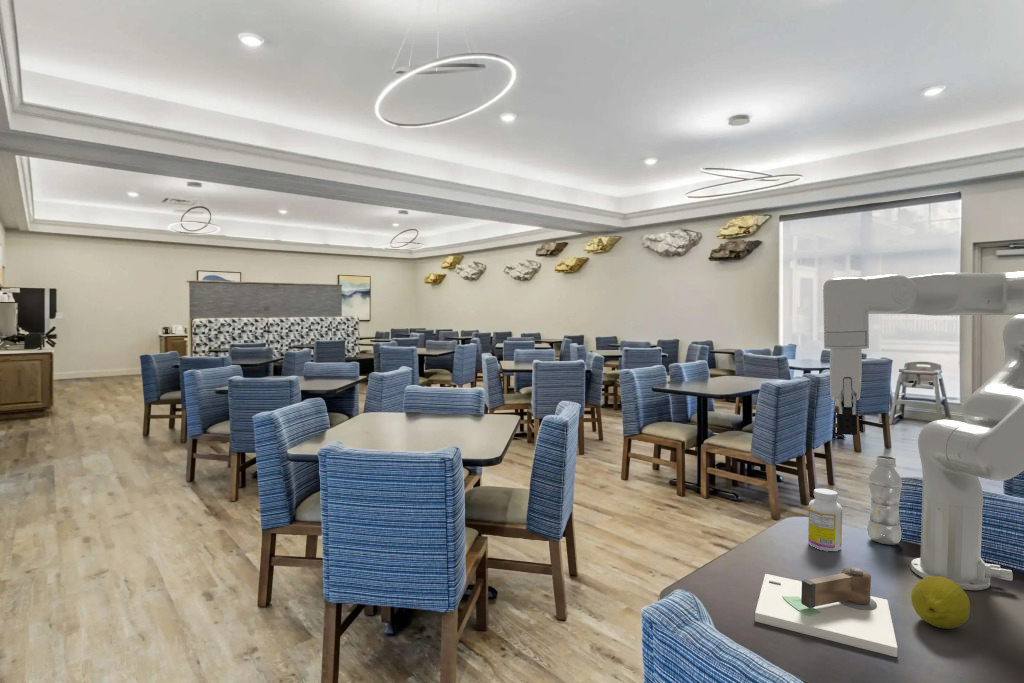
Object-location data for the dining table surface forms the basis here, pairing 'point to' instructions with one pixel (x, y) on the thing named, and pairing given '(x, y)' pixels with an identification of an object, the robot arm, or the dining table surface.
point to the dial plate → (827, 617)
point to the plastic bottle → (885, 502)
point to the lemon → (940, 602)
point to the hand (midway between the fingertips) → (847, 433)
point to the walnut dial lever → (837, 588)
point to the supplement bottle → (825, 521)
